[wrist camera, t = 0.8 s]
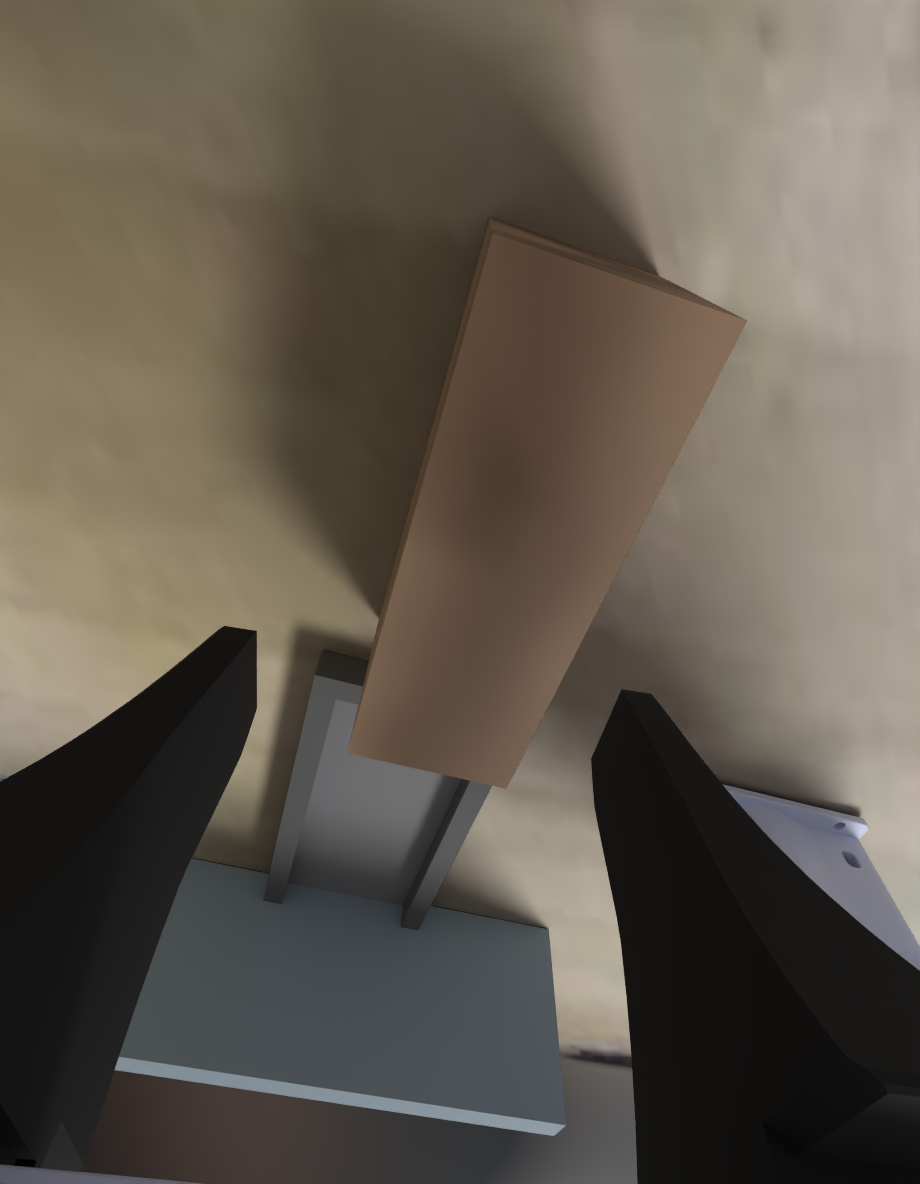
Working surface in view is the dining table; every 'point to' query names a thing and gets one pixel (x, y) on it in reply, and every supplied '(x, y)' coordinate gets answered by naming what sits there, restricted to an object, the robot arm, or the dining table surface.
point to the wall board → (354, 953)
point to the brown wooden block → (529, 495)
